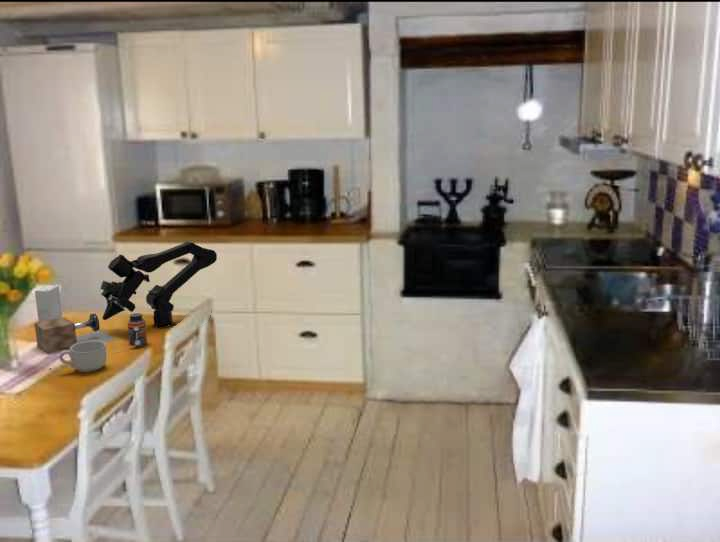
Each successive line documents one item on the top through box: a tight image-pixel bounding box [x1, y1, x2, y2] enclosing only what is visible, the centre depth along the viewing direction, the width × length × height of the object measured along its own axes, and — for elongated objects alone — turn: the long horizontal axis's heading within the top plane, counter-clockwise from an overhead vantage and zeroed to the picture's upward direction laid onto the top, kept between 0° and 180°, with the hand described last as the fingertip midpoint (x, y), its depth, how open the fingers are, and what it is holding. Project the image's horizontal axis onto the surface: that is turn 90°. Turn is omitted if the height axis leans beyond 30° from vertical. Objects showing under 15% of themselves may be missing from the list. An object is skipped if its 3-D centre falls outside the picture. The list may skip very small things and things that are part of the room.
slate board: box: [35, 330, 117, 356], centre depth 241 cm, size 23×15×1 cm, turn 131°
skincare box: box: [34, 284, 64, 322], centre depth 267 cm, size 8×6×15 cm
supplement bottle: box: [127, 312, 148, 349], centre depth 237 cm, size 6×6×11 cm
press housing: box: [34, 316, 77, 355], centre depth 236 cm, size 10×11×8 cm
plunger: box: [74, 313, 100, 333], centre depth 241 cm, size 11×6×6 cm, turn 131°
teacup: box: [58, 340, 107, 373], centre depth 215 cm, size 14×11×8 cm
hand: (103, 319), depth 246 cm, fingers closed
